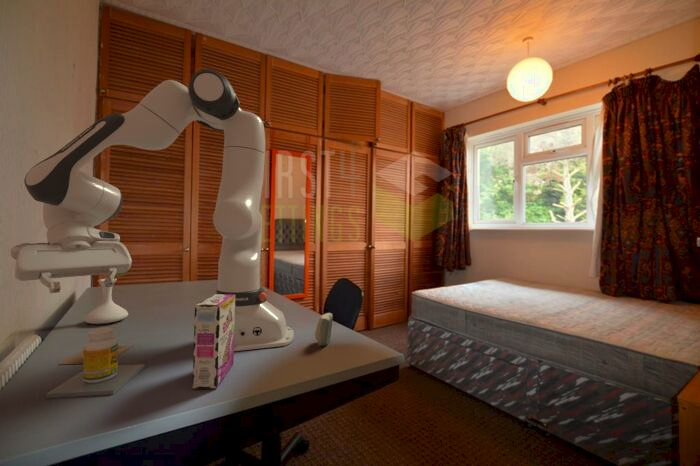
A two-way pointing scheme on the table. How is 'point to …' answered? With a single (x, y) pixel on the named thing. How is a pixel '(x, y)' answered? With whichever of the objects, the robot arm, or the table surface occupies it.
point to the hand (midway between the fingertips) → (84, 288)
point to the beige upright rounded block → (324, 329)
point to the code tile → (80, 356)
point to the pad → (96, 384)
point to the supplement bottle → (100, 355)
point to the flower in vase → (106, 307)
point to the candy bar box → (213, 340)
